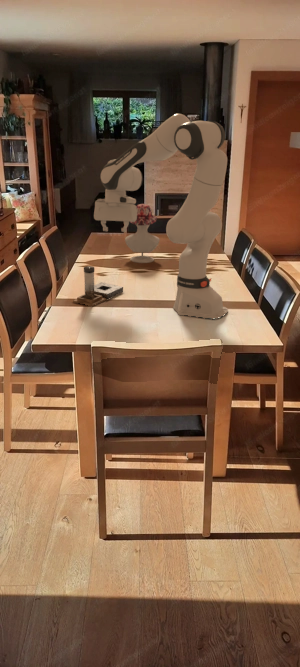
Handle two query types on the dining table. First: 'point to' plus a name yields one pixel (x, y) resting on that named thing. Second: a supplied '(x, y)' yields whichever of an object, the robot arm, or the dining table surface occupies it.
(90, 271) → the lidded glass canister
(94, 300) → the square wooden tray
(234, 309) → the dining table surface
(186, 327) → the dining table surface
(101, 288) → the socket block
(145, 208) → the beige curvy piece
